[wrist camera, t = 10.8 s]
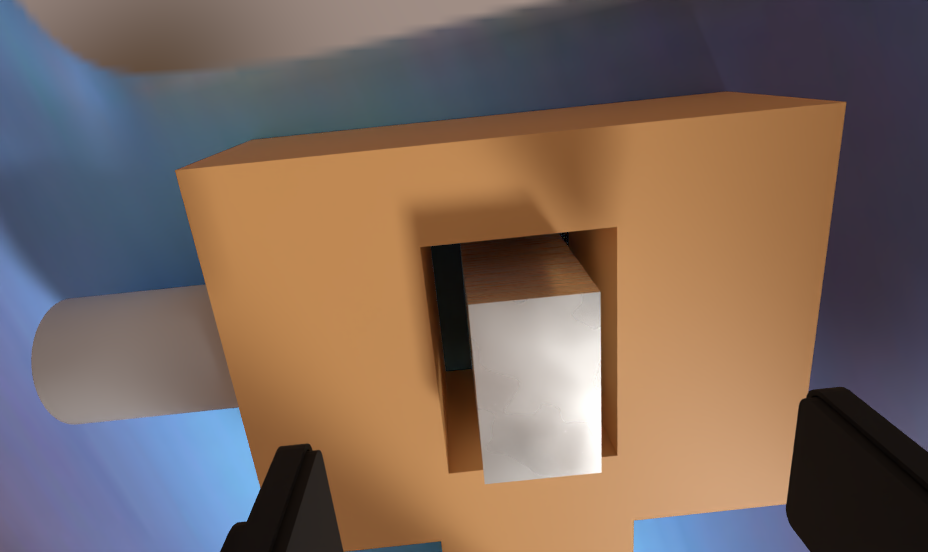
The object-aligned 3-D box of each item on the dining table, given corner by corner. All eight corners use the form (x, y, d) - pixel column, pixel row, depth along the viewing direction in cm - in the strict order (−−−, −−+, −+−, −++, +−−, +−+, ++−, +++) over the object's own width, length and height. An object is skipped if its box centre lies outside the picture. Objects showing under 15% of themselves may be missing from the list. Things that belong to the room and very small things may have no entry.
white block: (541, 208, 20) (600, 291, 13) (546, 334, 22) (601, 472, 15) (457, 216, 20) (467, 304, 13) (469, 342, 22) (484, 484, 15)
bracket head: (726, 91, 19) (846, 102, 14) (704, 458, 24) (783, 575, 19) (72, 157, 19) (-81, 196, 13) (189, 513, 24) (114, 648, 19)
